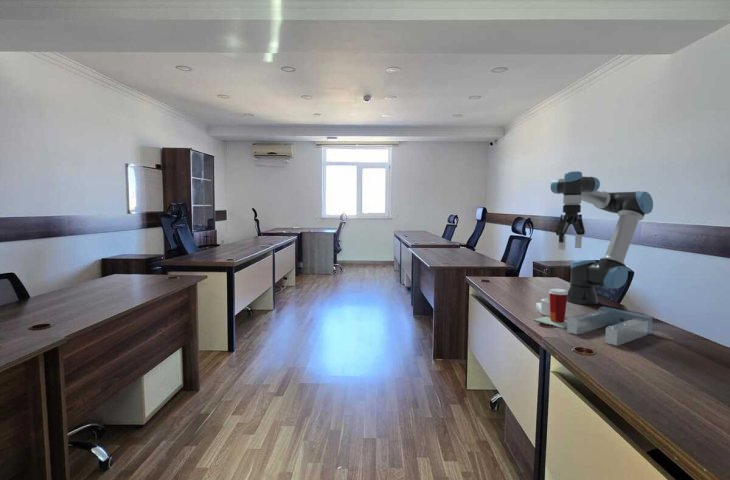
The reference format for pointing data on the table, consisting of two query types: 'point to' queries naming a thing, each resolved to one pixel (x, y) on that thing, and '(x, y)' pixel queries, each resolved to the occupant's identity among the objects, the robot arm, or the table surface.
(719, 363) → the table surface
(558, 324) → the mat
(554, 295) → the paper cup
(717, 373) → the table surface
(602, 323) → the vise
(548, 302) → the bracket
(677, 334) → the table surface
